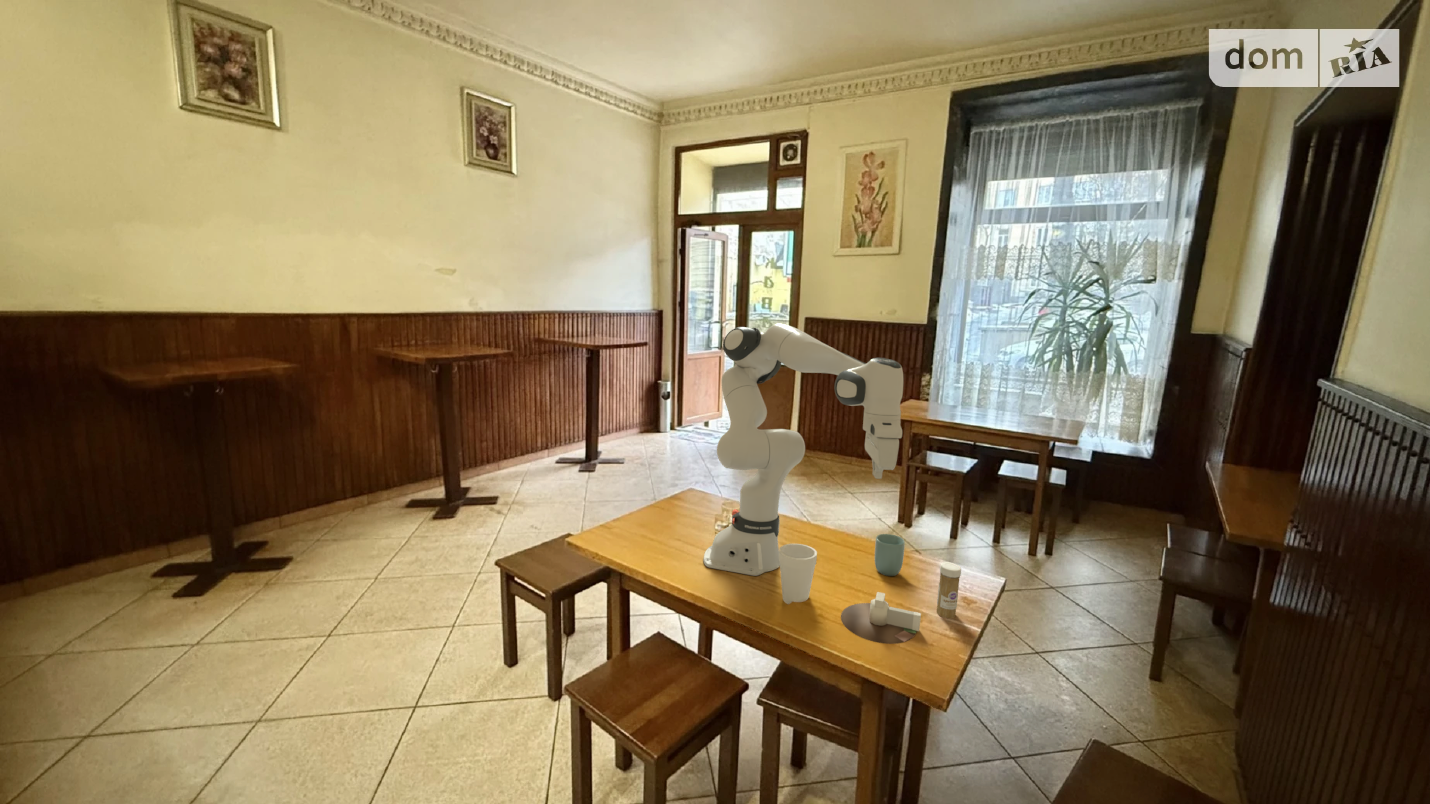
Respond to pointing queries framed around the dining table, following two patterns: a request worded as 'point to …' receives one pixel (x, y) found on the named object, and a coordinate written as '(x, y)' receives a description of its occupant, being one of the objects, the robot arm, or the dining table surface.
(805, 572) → the foam cup
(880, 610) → the cream toy mallet
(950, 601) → the sprinkles bottle
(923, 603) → the dining table surface
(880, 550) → the cup
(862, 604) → the dial
